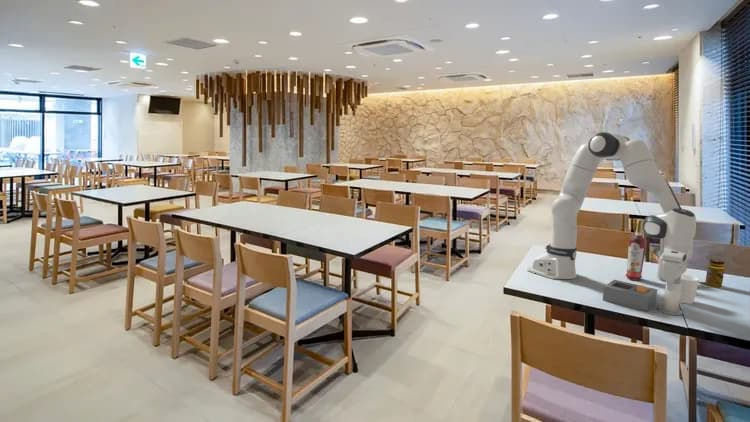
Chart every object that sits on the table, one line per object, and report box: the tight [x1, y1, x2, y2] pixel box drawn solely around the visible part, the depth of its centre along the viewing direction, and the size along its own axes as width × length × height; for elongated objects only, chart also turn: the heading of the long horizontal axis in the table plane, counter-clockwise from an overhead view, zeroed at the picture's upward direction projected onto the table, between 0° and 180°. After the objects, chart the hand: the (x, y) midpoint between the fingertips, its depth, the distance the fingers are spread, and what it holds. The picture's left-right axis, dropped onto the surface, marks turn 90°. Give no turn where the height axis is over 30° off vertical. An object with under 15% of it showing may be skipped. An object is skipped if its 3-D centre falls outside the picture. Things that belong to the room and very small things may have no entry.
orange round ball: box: [636, 284, 649, 293], centre depth 174 cm, size 4×4×4 cm
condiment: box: [698, 258, 726, 290], centre depth 198 cm, size 7×8×12 cm
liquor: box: [625, 219, 648, 281], centre depth 204 cm, size 7×7×28 cm
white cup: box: [679, 274, 700, 305], centre depth 179 cm, size 8×8×10 cm
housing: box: [602, 279, 658, 312], centre depth 177 cm, size 16×12×6 cm
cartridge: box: [662, 279, 682, 312], centre depth 168 cm, size 5×5×12 cm
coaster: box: [657, 305, 683, 316], centre depth 169 cm, size 8×8×1 cm
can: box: [656, 255, 666, 282], centre depth 205 cm, size 8×8×12 cm
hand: (673, 287), depth 167 cm, fingers open, 8 cm apart
